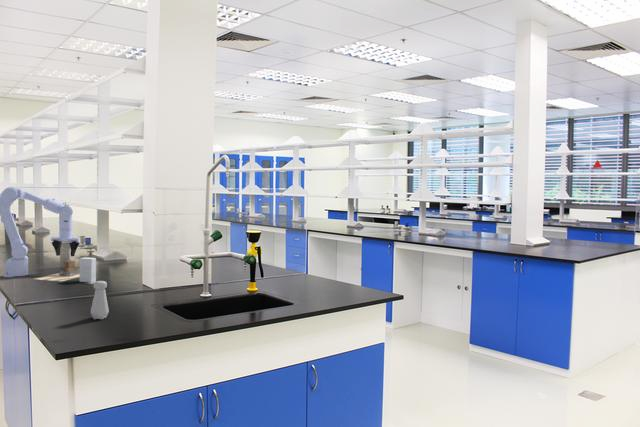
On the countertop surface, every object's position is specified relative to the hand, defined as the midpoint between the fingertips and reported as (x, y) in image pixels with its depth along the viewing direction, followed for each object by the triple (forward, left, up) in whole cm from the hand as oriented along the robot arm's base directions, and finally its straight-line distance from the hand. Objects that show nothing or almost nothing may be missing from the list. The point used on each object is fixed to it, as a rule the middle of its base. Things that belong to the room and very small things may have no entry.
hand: (65, 255), depth 254 cm
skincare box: (+23, -14, -10) cm, 29 cm away
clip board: (+5, -8, -10) cm, 14 cm away
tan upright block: (+5, -4, -9) cm, 11 cm away
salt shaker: (+67, -68, -10) cm, 96 cm away
